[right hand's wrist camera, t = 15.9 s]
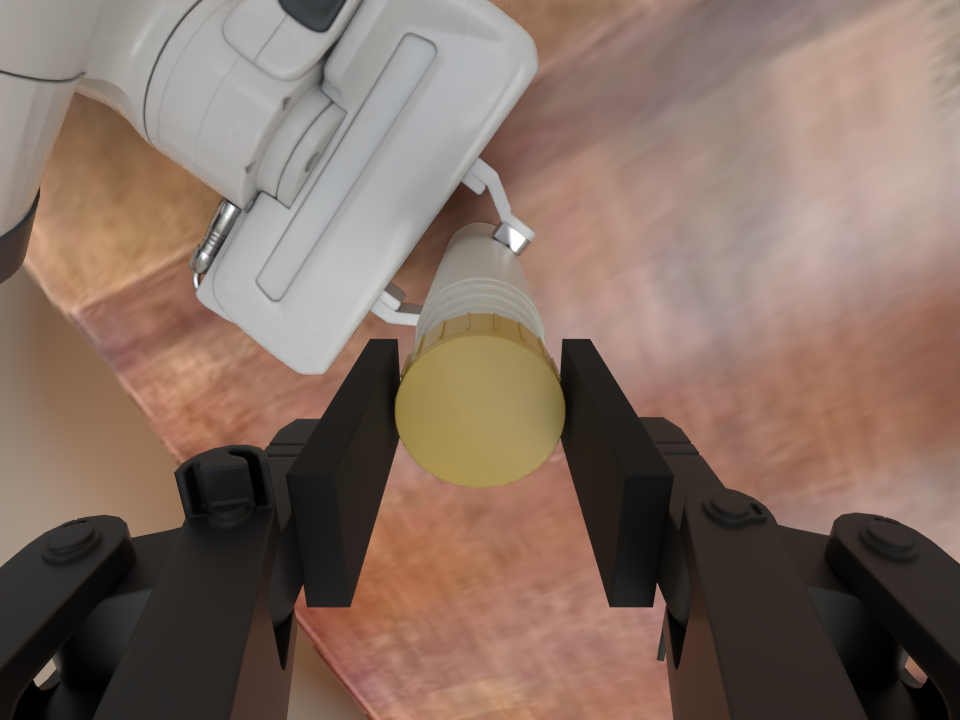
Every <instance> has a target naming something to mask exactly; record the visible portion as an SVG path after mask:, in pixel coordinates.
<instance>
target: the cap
mask: <svg viewBox="0 0 960 720" xmlns="http://www.w3.org/2000/svg"><path fill="white" fill-rule="evenodd" d="M400 377H402V380H401V383H400V385H399V389H398V392H397V395H396V397H395V421H396V427H397V430H398V433H399V436H400V439H401V441H402V443H403V445H404V447H405V448H406V450H407V451H408V453H409V454H410V455H411V456H412V458H413V459H414V460H415V461H416V462H417V463H418V464H419V465H420V466H421V467H422V468H424V469H425V470H426V471H428V472H429V473H431V474H432V475H434V476H436V477H438V478H440V479H442V480H444V481H447V482H449V483H453V484H456V485H460V486H466V487H477V488H484V487H494V486H500V485H504V484H507V483H511V482H514V481H516V480H518V479H521V478H523V477H524V476H526V475H528V474H530V473H531V472H532V471H534V470H535V469H536V468H538V467H539V466H540V465H541V464H542V463H543V462H544V461H545V460H546V459H547V458H548V457H549V456H550V454H551V453H552V452H553V450H554V448H555V447H556V445H557V444H558V441H559V439H560V437H561V434H562V431H563V427H564V423H565V415H566V414H565V405H566V403H565V400H564V394H563V391H562V388H561V385H560V382H559V381H560V380H561V378H560V375H559V372H558V370H557V367H556V364H555V362H554V359H553V358H551V357H550V355H549V353H548V351H547V349H546V348H545V346H544V345H543V342H542V339H541V338H540V337H539V338H537V336H536V335H535V334H534V333H532V332H531V331H530V330H529V329H528V328H526V327H525V326H523V325H522V322H520V321H519V322H516V321H514V320H512V319H509V318H506V317H503V316H500V315H497V313H494V314H487V313H474V314H470V312H467V314H466V315H461V316H457V317H454V318H451V319H448V320H446V321H445V320H442V321H441V323H440V324H439V325H437V326H436V327H434V328H433V329H431V330H430V331H429V332H428V333H427V334H426V335H422V336H421V338H420V341H419V342H418V344H417V345H416V347H415V348H414V350H413V352H412V354H411V355H408V357H407V360H406V362H405V365H404V368H403V370H402V373H401V376H400Z"/></svg>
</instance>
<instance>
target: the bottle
mask: <svg viewBox="0 0 960 720" xmlns="http://www.w3.org/2000/svg"><path fill="white" fill-rule="evenodd" d="M495 228H496V226H494V225H492V224H489V223H483V222H477V223H471V224H468V225H466V226H464V227H462V228H460V229H459V230H458V231H457V232H455V234H454V235H453V236H452V237H451V239H450V240H449V242H448V244H447V247H446V250H445V252H444V255H443V257H442V260H441V262H440V265H439V267H438V270H437V273H436V275H435V278H434V280H433V283H432V285H431V288H430V290H429V293H428V296H427V298H426V301H425V303H424V306H423V308H422V311H421V313H420V316H419V319H418V322H417V326H416V331H415V347H416V345H417V344H418V342H419V341H420V338H421V336H422V335H426V334H427V333H428V332H429V331H430V330H431V329H433V328H434V327H436V326H437V325H439V324H440V323H441V321H442V320H445V321H446V320H448V319H451V318H454V317H457V316H461V315H466V314H467V312H470V314H474V313H487V314H494V313H497V315H500V316H503V317H506V318H509V319H512V320H514V321H516V322H519V321H520V322H522V325H523V326H525V327H526V328H528V329H529V330H530V331H531V332H532V333H534V334H535V335H536V336H537V338H539V337H540V338H541V339H542V342H543V345H544V346H545V330H544V325H543V321H542V318H541V316H540V313H539V311H538V308H537V305H536V303H535V300H534V298H533V295H532V293H531V290H530V288H529V285H528V283H527V280H526V277H525V275H524V272H523V270H522V267H521V265H520V262H519V260H518V257H517V255H516V254H515V253H513V252H512V251H511V250H510V248H509V245H504V244H502V243H501V242H499V241H498V240H497V239H496V238H494V237H493V233H492V232H493V231H494V229H495Z"/></svg>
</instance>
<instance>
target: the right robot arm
mask: <svg viewBox="0 0 960 720" xmlns="http://www.w3.org/2000/svg"><path fill="white" fill-rule="evenodd" d="M560 378H561V380H560V385H561V388H562V391H563V394H564V400H565V403H566V405H565V414H566V415H565V423H564V427H563V431H562V434H561V437H560V438H561V441H562V445H563V448H564V452H565V455H566V459H567V462H568V466H569V469H570V472H571V476H572V479H573V483H574V486H575V490H576V493H577V496H578V500H579V503H580V507H581V510H582V514H583V517H584V520H585V524H586V527H587V531H588V534H589V538H590V541H591V545H592V548H593V551H594V555H595V558H596V562H597V565H598V569H599V572H600V575H601V579H602V582H603V586H604V589H605V593H606V596H607V600H608V603H609V606H610V607H653V603H654V597H655V591H656V585H657V583H658V585H659V588H660V590H661V592H662V595H663V597H664V600H665V602H666V609H665V615H664V621H663V626H662V632H661V638H660V643H659V649H658V656H657V660H660V661H664V657H665V652H666V659H667V668H668V677H669V685H670V694H671V703H672V711H673V720H960V564H959V563H958V562H957V561H955V560H954V559H953V558H952V557H951V556H949V555H948V554H947V553H946V552H945V551H943V550H942V549H941V548H940V547H939V546H937V545H936V544H935V543H934V542H932V541H931V540H930V539H928V538H927V537H925V536H924V535H922V534H921V533H919V532H918V531H916V530H914V529H912V528H910V527H908V526H906V525H903V524H901V523H900V522H898V521H896V520H893V519H890V518H887V517H886V518H884V517H883V516H879V515H873V514H864V513H850V514H844V515H841V516H840V517H838V518H837V519H836V520H835V521H834V523H833V526H832V529H831V533H830V536H828V535H823V534H818V533H813V532H808V531H803V530H798V529H793V528H789V527H785V526H781V525H778V524H777V522H776V520H775V518H774V516H773V515H772V514H771V512H770V511H769V510H768V509H767V507H766V506H764V505H763V504H761V503H760V502H759V501H757V500H756V499H754V498H753V497H750V496H748V495H746V494H743V493H741V492H739V491H736V490H732V489H727V488H725V487H724V485H723V484H722V483H721V481H720V480H719V479H718V477H717V476H716V475H715V473H714V472H713V471H712V469H711V468H710V467H709V465H708V464H707V463H706V461H705V460H704V459H703V457H702V456H699V452H698V451H697V449H696V448H695V447H694V445H693V444H691V441H690V440H689V439H688V437H687V436H686V435H685V433H684V432H683V431H682V429H681V428H679V427H678V426H676V425H675V424H673V423H671V422H670V421H668V420H667V419H665V418H664V417H638V416H637V414H636V413H635V411H634V410H633V408H632V406H631V405H630V403H629V401H628V400H627V398H626V397H625V395H624V393H623V392H622V390H621V388H620V387H619V385H618V384H617V382H616V380H615V379H614V377H613V376H612V374H611V372H610V371H609V369H608V367H607V366H606V364H605V363H604V361H603V359H602V358H601V356H600V355H599V353H598V351H597V350H596V348H595V346H594V345H593V343H592V342H591V340H590V339H562V355H561V371H560ZM399 385H400V371H399V355H398V339H370V340H369V342H368V343H367V345H366V346H365V348H364V350H363V351H362V353H361V355H360V356H359V358H358V359H357V361H356V363H355V364H354V366H353V367H352V369H351V371H350V372H349V374H348V376H347V377H346V379H345V380H344V382H343V384H342V385H341V387H340V389H339V390H338V392H337V393H336V395H335V397H334V398H333V400H332V401H331V403H330V405H329V406H328V408H327V410H326V411H325V413H324V414H323V416H322V418H321V419H296V420H295V421H293V422H291V423H290V424H288V425H287V426H285V427H284V428H282V429H281V430H279V431H278V433H277V434H276V435H275V437H274V438H273V439H272V441H271V442H270V445H269V446H267V448H266V449H265V450H264V451H263V450H262V449H261V448H259V447H254V446H250V445H229V446H224V447H219V448H214V449H211V450H209V451H206V452H203V453H200V454H198V455H196V456H194V457H192V458H191V459H189V460H187V461H186V462H184V463H183V464H182V465H181V466H180V467H179V468H178V469H177V470H176V471H175V472H174V474H175V478H176V482H177V486H178V490H179V494H180V497H181V501H182V505H183V509H184V513H185V517H186V519H185V521H184V523H183V525H182V527H180V528H176V529H172V530H168V531H163V532H158V533H153V534H149V535H143V536H138V537H134V538H131V536H130V533H129V529H128V526H127V523H126V522H124V521H123V520H122V519H121V518H119V517H115V516H109V515H100V516H91V517H84V518H79V519H77V520H72V521H69V522H66V523H64V524H62V525H61V526H58V527H56V528H54V529H52V530H50V531H48V532H45V533H44V534H42V535H41V536H39V537H38V538H37V539H35V540H34V541H32V542H31V543H29V544H28V545H27V546H25V547H24V548H23V549H22V550H21V551H19V552H18V553H17V554H16V555H15V556H13V557H12V558H11V559H10V560H9V561H8V562H6V563H5V564H4V565H3V566H2V567H0V720H287V713H288V704H289V695H290V686H291V678H292V669H293V661H294V652H295V643H296V635H297V622H296V615H295V609H294V605H295V602H296V600H297V597H298V595H299V593H300V590H301V588H302V585H304V591H305V597H306V603H307V607H350V606H351V603H352V600H353V596H354V593H355V589H356V586H357V582H358V579H359V576H360V572H361V569H362V565H363V562H364V558H365V555H366V551H367V548H368V545H369V541H370V538H371V534H372V531H373V527H374V524H375V521H376V517H377V514H378V510H379V507H380V503H381V500H382V496H383V493H384V490H385V486H386V483H387V479H388V476H389V472H390V469H391V466H392V462H393V459H394V455H395V452H396V448H397V445H398V441H399V438H400V436H399V433H398V430H397V427H396V421H395V397H396V395H397V392H398V389H399ZM909 656H910V657H911V658H912V659H913V660H914V661H915V663H916V664H917V665H918V666H919V667H920V668H921V669H922V670H923V672H924V673H925V674H926V675H927V676H928V678H927V680H926V682H925V684H924V685H921V684H920V683H919V682H918V681H917V680H916V679H915V678H914V677H913V676H912V675H911V674H910V673H909V672H908V670H907V669H906V668H905V667H904V666H905V664H906V662H907V659H908V657H909ZM51 658H52V659H53V662H54V664H55V666H56V670H55V671H54V672H53V674H52V675H51V676H50V677H49V678H48V679H47V680H46V681H45V682H44V683H43V684H42V685H40V686H39V687H37V686H36V685H35V682H34V680H33V679H34V678H35V677H36V676H37V674H38V673H39V672H40V671H41V670H42V669H43V668H44V666H45V665H46V664H47V663H48V662H49V661H50V660H51Z"/></svg>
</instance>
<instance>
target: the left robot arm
mask: <svg viewBox="0 0 960 720" xmlns="http://www.w3.org/2000/svg"><path fill="white" fill-rule="evenodd" d="M538 71H539V60H538V53H537V48H536V44H535V42H534V40H533V38H532V37H531V36H530V35H529V33H528V32H527V31H525V30H524V29H523V28H522V27H521V26H520V25H519V24H518V23H517V22H515V21H514V20H513V19H512V18H511V17H509V16H508V15H507V14H506V13H504V12H503V11H502V10H501V9H499V8H498V7H497V6H495V5H494V4H493V3H492V2H490V1H489V0H0V283H2V282H4V281H5V280H7V279H8V278H9V277H11V276H12V275H13V274H14V273H15V272H16V271H17V270H18V269H19V267H20V266H21V264H22V263H23V261H24V259H25V256H26V252H27V248H28V243H29V239H30V235H31V231H32V227H33V222H34V218H35V214H36V210H37V206H38V202H39V198H40V184H41V181H42V179H43V176H44V173H45V171H46V168H47V165H48V163H49V160H50V157H51V155H52V152H53V149H54V146H55V144H56V141H57V138H58V136H59V133H60V130H61V128H62V125H63V122H64V120H65V117H66V114H67V112H68V109H69V106H70V104H71V101H72V98H73V96H74V93H75V92H77V93H79V94H82V95H84V96H86V97H89V98H91V99H94V100H97V101H99V102H101V103H104V104H106V105H107V106H109V107H111V108H113V109H114V110H116V111H117V112H118V113H120V114H121V115H122V116H123V117H124V118H125V119H126V120H127V121H128V122H129V123H130V124H131V125H132V126H133V127H134V129H135V130H136V131H137V132H138V133H139V135H140V136H141V137H142V138H143V139H144V140H145V141H146V142H147V143H149V144H150V145H151V146H152V147H153V148H155V149H156V150H158V151H159V152H161V153H162V154H163V155H165V156H166V157H168V158H169V159H171V160H172V161H173V162H175V163H176V164H178V165H179V166H181V167H182V168H183V169H185V170H186V171H188V172H189V173H191V174H192V175H193V176H195V177H196V178H198V179H199V180H201V181H202V182H203V183H205V184H206V185H208V186H209V187H210V188H212V189H213V190H215V191H216V192H218V193H219V194H220V195H222V196H223V199H222V200H221V202H220V203H219V206H218V208H217V209H216V211H215V213H214V215H213V217H212V219H211V221H210V223H209V226H208V229H207V231H206V234H205V236H204V237H203V239H202V241H201V243H200V244H198V245H197V246H196V248H195V249H194V251H193V253H192V255H191V258H190V261H189V267H190V268H191V269H192V270H193V272H192V284H193V288H194V290H195V292H196V297H197V298H198V300H199V301H200V302H201V303H202V304H203V305H205V306H206V307H207V308H209V309H211V310H212V311H214V312H215V313H217V314H218V315H220V316H221V317H223V318H224V319H226V320H228V321H230V322H233V323H235V324H236V325H238V326H239V327H240V328H241V329H242V330H243V331H244V332H245V333H247V334H248V335H249V336H250V337H251V338H252V339H253V340H255V341H256V342H257V343H258V344H260V345H261V346H262V347H263V348H265V349H266V350H267V351H268V352H270V353H271V354H272V355H273V356H275V357H276V358H277V359H279V360H280V361H281V362H283V363H284V364H286V365H287V366H288V367H290V368H291V369H293V370H294V371H296V372H298V373H300V374H315V375H316V374H324V373H325V372H326V371H327V370H328V369H329V368H330V366H331V365H332V364H333V362H334V361H335V359H336V358H337V357H338V355H339V354H340V352H341V351H342V350H343V348H344V347H345V345H346V344H347V342H348V341H349V340H350V338H351V337H352V335H353V334H354V333H355V331H356V330H357V328H358V327H359V325H360V324H361V322H362V321H363V320H364V318H365V317H366V315H367V314H368V312H369V311H371V312H373V313H374V314H375V315H377V316H378V317H380V318H381V319H383V320H384V321H385V322H387V323H392V324H401V325H411V326H417V322H418V319H419V316H420V313H421V311H422V308H423V306H424V305H417V304H411V303H404V302H402V301H403V300H404V298H405V296H406V293H405V292H404V291H403V290H401V289H400V288H399V287H397V286H396V285H394V284H393V283H392V282H390V281H391V280H392V279H393V277H394V276H395V274H396V273H397V271H398V270H399V269H400V267H401V266H402V264H403V263H404V262H405V260H406V259H407V257H408V256H409V254H410V253H411V252H412V250H413V249H414V247H415V246H416V245H417V243H418V242H419V240H420V239H421V237H422V236H423V235H424V233H425V232H426V230H427V229H428V228H429V226H430V225H431V223H432V222H433V221H434V219H435V218H436V216H437V215H438V213H439V212H440V211H441V209H442V208H443V206H444V205H445V204H446V202H447V201H448V199H449V198H450V196H451V195H452V194H453V192H454V191H455V189H456V188H457V187H458V185H459V184H460V182H463V183H464V184H465V185H466V186H468V187H469V188H470V189H471V190H473V191H474V192H475V193H477V194H482V192H483V191H484V189H485V185H486V186H488V189H489V191H490V194H491V196H492V199H493V201H494V204H495V206H496V209H497V211H498V214H499V216H500V219H501V221H500V222H499V224H498V225H497V227H496V228H495V229H494V231H493V232H492V233H493V237H494V238H496V239H497V240H498V241H499V242H501V243H502V244H504V245H509V248H510V250H511V251H512V252H513V253H515V254H516V255H518V256H520V255H521V254H522V252H523V251H524V250H525V249H526V248H527V246H528V245H529V244H530V243H531V241H532V240H533V239H534V237H535V236H536V235H537V233H536V232H535V231H534V230H533V229H532V228H531V227H529V226H528V225H527V224H526V223H524V222H523V221H522V220H521V219H519V218H518V217H517V216H516V215H514V214H513V213H512V212H511V211H512V210H511V207H510V205H509V202H508V199H507V197H506V194H505V191H504V189H503V186H502V184H501V181H500V178H499V176H498V173H497V172H496V171H495V170H493V169H492V168H491V167H490V166H488V165H487V164H486V163H485V162H484V161H482V160H481V159H480V158H479V155H480V154H481V153H482V151H483V150H484V148H485V147H486V146H487V144H488V143H489V141H490V140H491V138H492V137H493V136H494V134H495V133H496V131H497V130H498V129H499V127H500V126H501V124H502V123H503V122H504V120H505V119H506V118H507V116H508V115H509V113H510V112H511V111H512V109H513V108H514V106H515V105H516V103H517V102H518V101H519V99H520V98H521V96H522V95H523V94H524V92H525V91H526V89H527V88H528V86H529V85H530V84H531V82H532V81H533V79H534V78H535V77H536V75H537V73H538ZM201 274H206V275H205V277H204V278H203V280H202V282H201V280H200V277H201Z"/></svg>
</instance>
